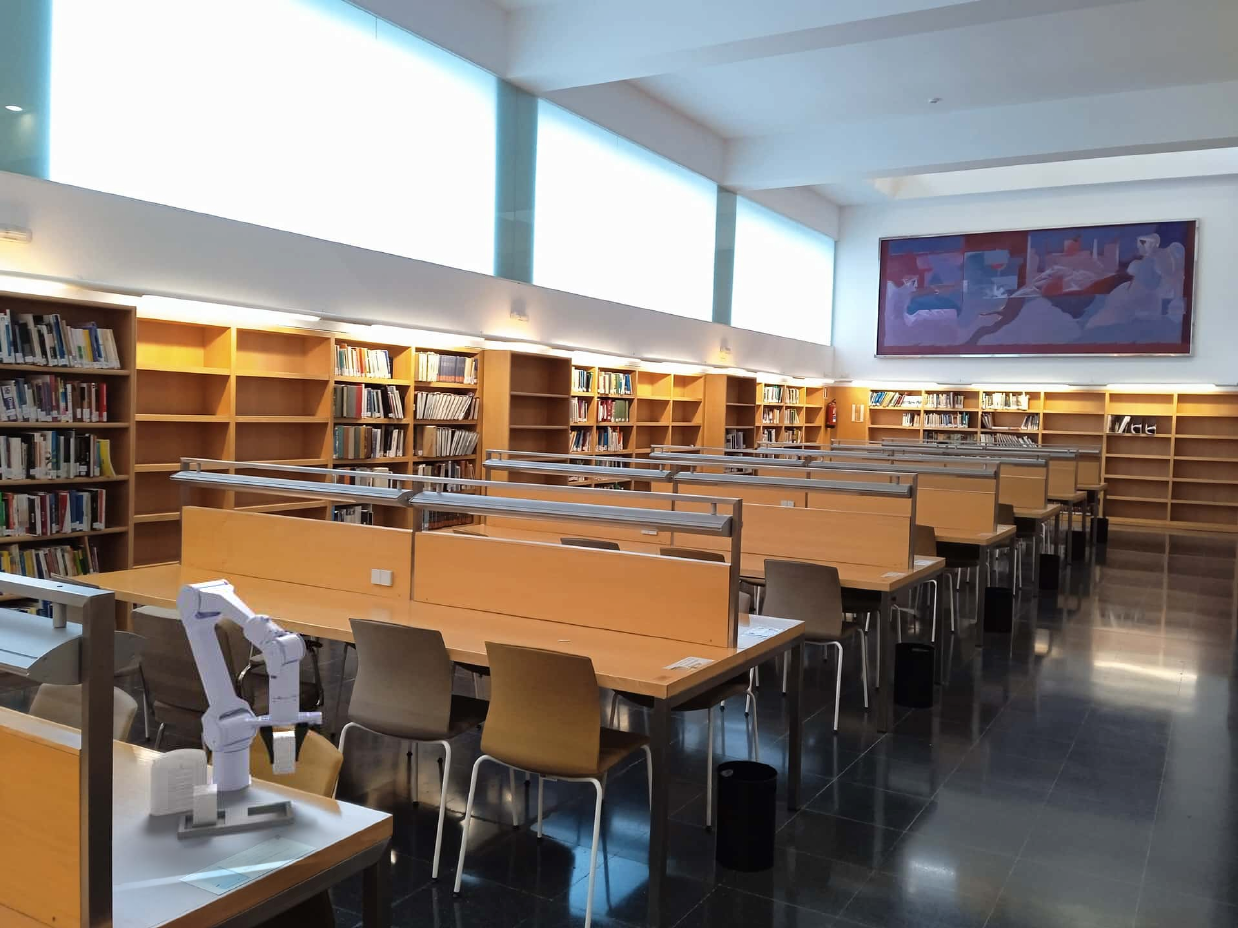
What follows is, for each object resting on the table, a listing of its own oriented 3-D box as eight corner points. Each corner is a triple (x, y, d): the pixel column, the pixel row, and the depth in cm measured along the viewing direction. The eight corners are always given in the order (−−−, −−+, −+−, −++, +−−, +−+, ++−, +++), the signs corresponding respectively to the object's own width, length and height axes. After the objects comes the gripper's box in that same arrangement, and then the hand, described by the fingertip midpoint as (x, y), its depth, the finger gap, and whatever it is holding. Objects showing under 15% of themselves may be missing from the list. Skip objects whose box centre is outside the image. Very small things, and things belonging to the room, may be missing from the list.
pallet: (180, 824, 186) (180, 813, 186) (290, 810, 193) (290, 800, 193) (177, 842, 177) (177, 832, 177) (293, 827, 185) (293, 817, 185)
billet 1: (194, 822, 185) (194, 785, 184) (216, 819, 186) (216, 783, 186) (193, 832, 180) (193, 795, 180) (216, 829, 182) (216, 792, 181)
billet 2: (272, 766, 198) (273, 732, 198) (293, 764, 200) (293, 730, 199) (274, 774, 193) (274, 740, 193) (295, 772, 195) (295, 738, 195)
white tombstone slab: (204, 803, 196) (204, 742, 196) (209, 810, 193) (209, 748, 192) (148, 813, 190) (148, 751, 190) (152, 821, 187) (151, 757, 186)
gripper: (246, 703, 190) (245, 771, 190) (323, 696, 195) (323, 763, 195) (245, 694, 196) (245, 760, 197) (320, 687, 201) (319, 752, 202)
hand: (283, 761), depth 196 cm, fingers closed on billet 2, 4 cm apart
